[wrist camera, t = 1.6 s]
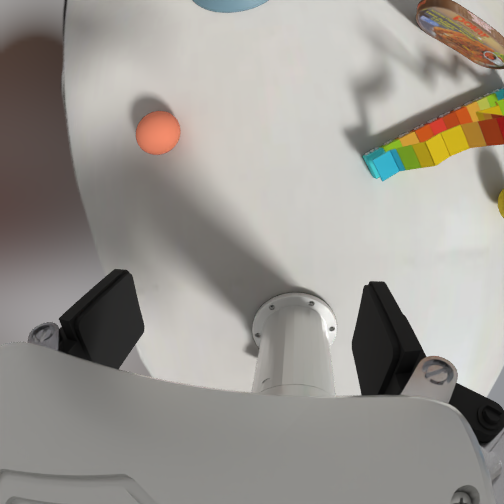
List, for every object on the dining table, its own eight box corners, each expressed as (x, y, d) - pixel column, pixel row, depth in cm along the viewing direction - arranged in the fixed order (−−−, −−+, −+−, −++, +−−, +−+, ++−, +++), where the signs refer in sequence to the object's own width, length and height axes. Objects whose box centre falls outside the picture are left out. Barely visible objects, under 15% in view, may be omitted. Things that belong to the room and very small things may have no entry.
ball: (179, 158, 34) (160, 161, 28) (144, 147, 33) (122, 149, 28) (192, 118, 31) (175, 114, 26) (156, 109, 31) (135, 105, 26)
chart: (503, 85, 22) (566, 79, 8) (511, 104, 22) (574, 104, 9) (360, 154, 31) (409, 161, 17) (372, 176, 32) (424, 200, 18)
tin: (406, 24, 22) (431, 1, 14) (408, 9, 21) (431, -15, 13) (488, 74, 22) (522, 66, 14) (489, 58, 20) (520, 49, 13)
